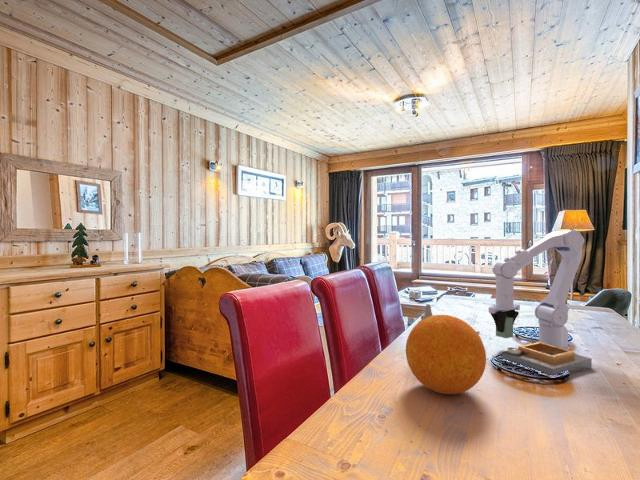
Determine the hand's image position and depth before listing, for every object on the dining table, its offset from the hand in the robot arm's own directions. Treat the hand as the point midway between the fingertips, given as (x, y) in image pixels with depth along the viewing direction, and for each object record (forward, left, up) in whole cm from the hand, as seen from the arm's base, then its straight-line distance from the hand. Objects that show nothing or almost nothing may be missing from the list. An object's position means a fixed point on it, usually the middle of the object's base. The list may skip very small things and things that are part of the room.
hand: (504, 330), depth 124 cm
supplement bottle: (+15, -1, -7) cm, 17 cm away
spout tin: (0, 0, -2) cm, 2 cm away
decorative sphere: (+46, +16, -7) cm, 49 cm away
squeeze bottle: (+32, -5, -7) cm, 33 cm away
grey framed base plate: (+2, +16, -7) cm, 17 cm away
